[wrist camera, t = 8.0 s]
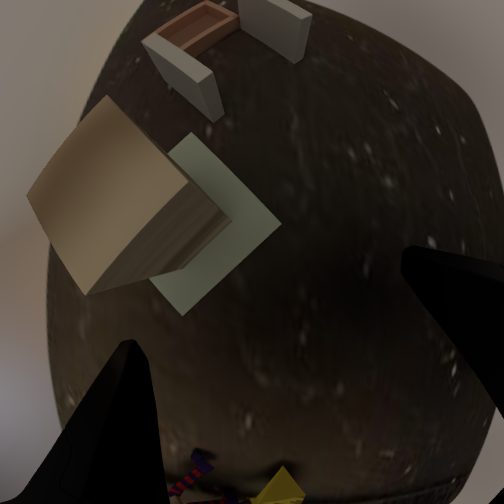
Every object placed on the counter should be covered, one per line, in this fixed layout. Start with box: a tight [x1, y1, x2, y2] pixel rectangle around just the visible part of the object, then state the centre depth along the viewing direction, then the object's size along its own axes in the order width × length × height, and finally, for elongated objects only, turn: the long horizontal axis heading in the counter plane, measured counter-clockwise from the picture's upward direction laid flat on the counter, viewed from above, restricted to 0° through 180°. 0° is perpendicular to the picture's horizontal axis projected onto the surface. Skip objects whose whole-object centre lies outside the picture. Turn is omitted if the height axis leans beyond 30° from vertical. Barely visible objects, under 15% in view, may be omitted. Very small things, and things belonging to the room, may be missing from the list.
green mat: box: [149, 132, 281, 316], centre depth 20 cm, size 10×10×1 cm
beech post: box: [27, 95, 232, 296], centre depth 14 cm, size 5×5×12 cm
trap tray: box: [141, 0, 241, 58], centre depth 19 cm, size 5×8×2 cm, turn 133°
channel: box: [142, 0, 312, 123], centre depth 17 cm, size 7×10×6 cm
